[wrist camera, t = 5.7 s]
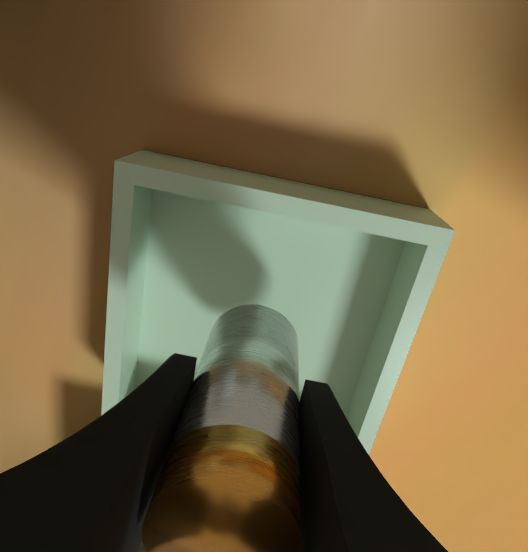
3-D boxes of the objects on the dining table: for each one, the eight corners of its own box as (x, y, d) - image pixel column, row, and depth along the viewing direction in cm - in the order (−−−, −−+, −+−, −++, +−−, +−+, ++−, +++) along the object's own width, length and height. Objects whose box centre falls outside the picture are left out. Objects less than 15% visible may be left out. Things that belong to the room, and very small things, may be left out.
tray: (430, 209, 15) (455, 230, 12) (351, 430, 19) (359, 477, 16) (143, 149, 15) (114, 160, 12) (124, 385, 19) (100, 427, 16)
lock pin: (313, 324, 14) (328, 520, 8) (277, 393, 15) (264, 612, 9) (227, 290, 14) (168, 463, 7) (197, 362, 15) (123, 566, 8)
